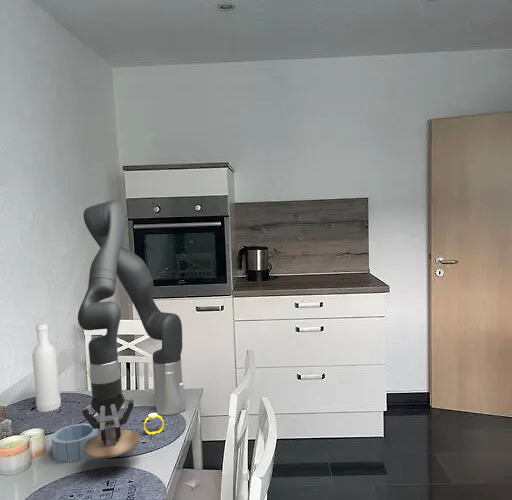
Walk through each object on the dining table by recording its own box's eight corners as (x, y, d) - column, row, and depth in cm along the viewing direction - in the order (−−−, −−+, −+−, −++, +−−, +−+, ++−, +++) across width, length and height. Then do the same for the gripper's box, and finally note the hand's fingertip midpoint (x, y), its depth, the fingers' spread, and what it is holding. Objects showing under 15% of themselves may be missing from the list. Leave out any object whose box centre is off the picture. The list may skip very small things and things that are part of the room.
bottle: (58, 411, 171) (50, 325, 168) (34, 413, 169) (26, 328, 167) (63, 402, 178) (56, 320, 176) (40, 404, 177) (33, 322, 175)
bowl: (99, 438, 148) (98, 421, 147) (97, 457, 136) (95, 438, 135) (57, 445, 145) (55, 427, 144) (50, 465, 133) (48, 445, 133)
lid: (138, 428, 139) (136, 409, 139) (139, 452, 126) (137, 430, 125) (86, 437, 136) (84, 417, 135) (81, 462, 122) (79, 440, 122)
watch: (145, 437, 147) (142, 418, 147) (144, 434, 150) (141, 415, 149) (165, 432, 149) (162, 414, 148) (164, 429, 152) (161, 410, 151)
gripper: (132, 369, 134) (138, 430, 136) (78, 376, 131) (85, 439, 133) (133, 378, 127) (138, 442, 129) (76, 386, 124) (82, 452, 125)
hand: (111, 440), depth 131 cm, fingers closed on lid
